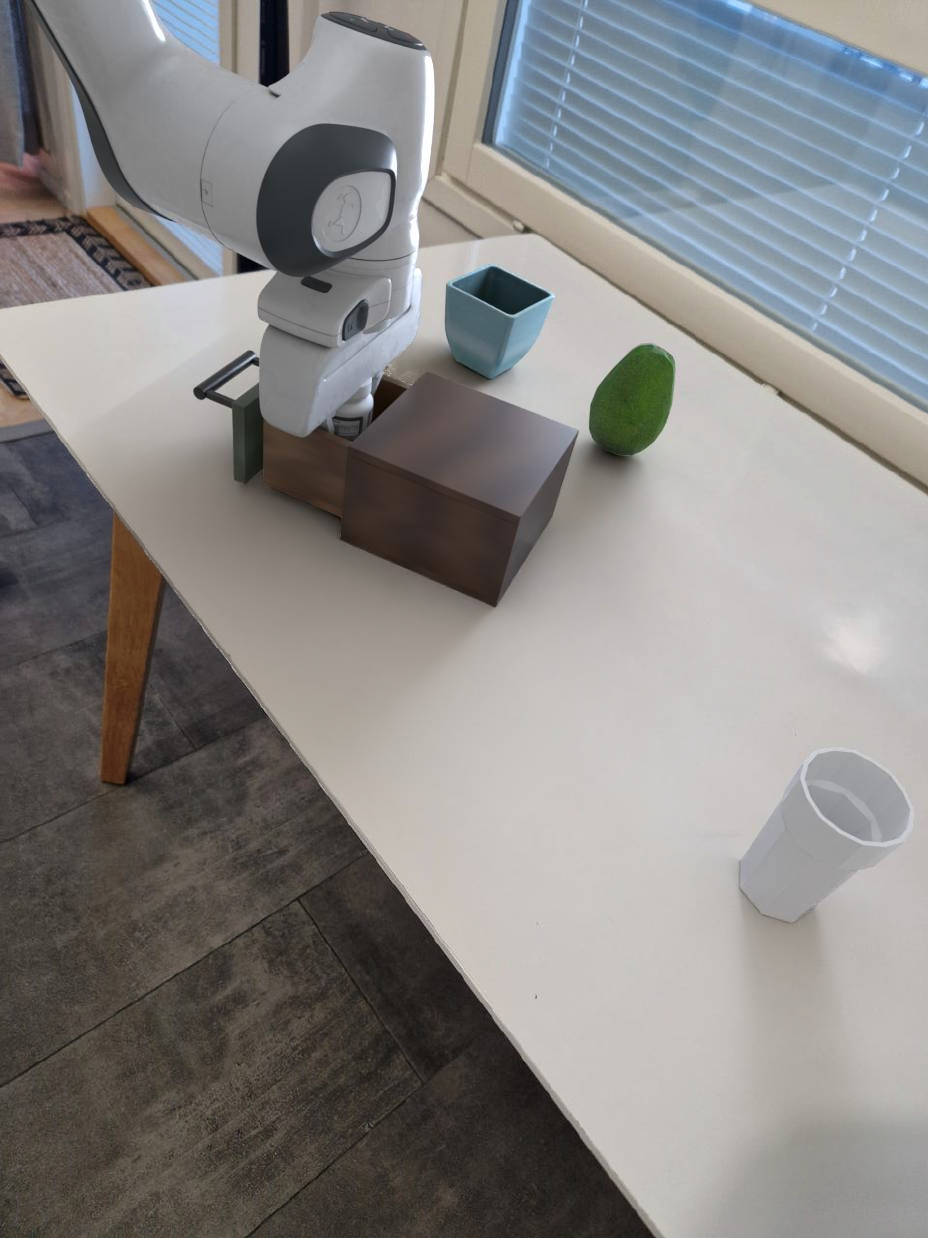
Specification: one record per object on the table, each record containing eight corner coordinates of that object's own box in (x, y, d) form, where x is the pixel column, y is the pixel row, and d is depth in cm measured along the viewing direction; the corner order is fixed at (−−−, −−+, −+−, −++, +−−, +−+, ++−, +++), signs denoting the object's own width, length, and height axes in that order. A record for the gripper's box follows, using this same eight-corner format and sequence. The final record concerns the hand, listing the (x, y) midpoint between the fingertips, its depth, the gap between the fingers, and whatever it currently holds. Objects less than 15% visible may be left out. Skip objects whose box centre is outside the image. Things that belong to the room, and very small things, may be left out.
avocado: (650, 479, 88) (693, 374, 79) (575, 459, 88) (609, 352, 79) (654, 437, 93) (693, 334, 85) (583, 418, 93) (616, 314, 85)
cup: (799, 837, 60) (879, 745, 52) (841, 929, 56) (936, 843, 48) (712, 842, 59) (782, 748, 51) (749, 937, 54) (832, 850, 46)
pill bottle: (338, 435, 79) (344, 352, 73) (377, 459, 78) (388, 376, 72) (302, 455, 76) (306, 370, 70) (342, 480, 75) (350, 396, 69)
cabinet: (339, 539, 73) (347, 445, 67) (412, 459, 83) (426, 370, 76) (495, 607, 71) (520, 517, 64) (552, 516, 81) (579, 429, 74)
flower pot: (538, 368, 99) (557, 293, 93) (495, 394, 94) (512, 317, 87) (476, 336, 102) (491, 261, 96) (431, 360, 96) (443, 283, 90)
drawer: (178, 456, 76) (172, 377, 71) (261, 392, 85) (261, 318, 79) (370, 539, 73) (380, 463, 67) (435, 464, 82) (448, 392, 76)
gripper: (382, 218, 73) (367, 366, 82) (242, 305, 59) (244, 471, 68) (449, 243, 72) (426, 389, 81) (323, 337, 58) (313, 501, 67)
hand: (342, 427), depth 75 cm, fingers closed on pill bottle, 5 cm apart
